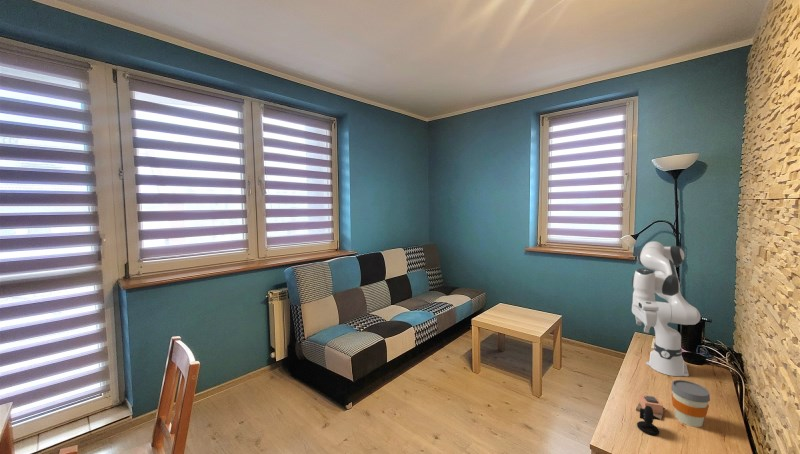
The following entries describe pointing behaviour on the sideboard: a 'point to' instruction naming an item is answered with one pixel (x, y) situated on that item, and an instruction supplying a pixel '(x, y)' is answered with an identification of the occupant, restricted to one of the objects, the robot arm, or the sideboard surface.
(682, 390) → the reusable coffee cup
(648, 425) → the webcam
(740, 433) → the sideboard surface
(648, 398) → the base
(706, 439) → the sideboard surface
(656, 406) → the pink square socket block
